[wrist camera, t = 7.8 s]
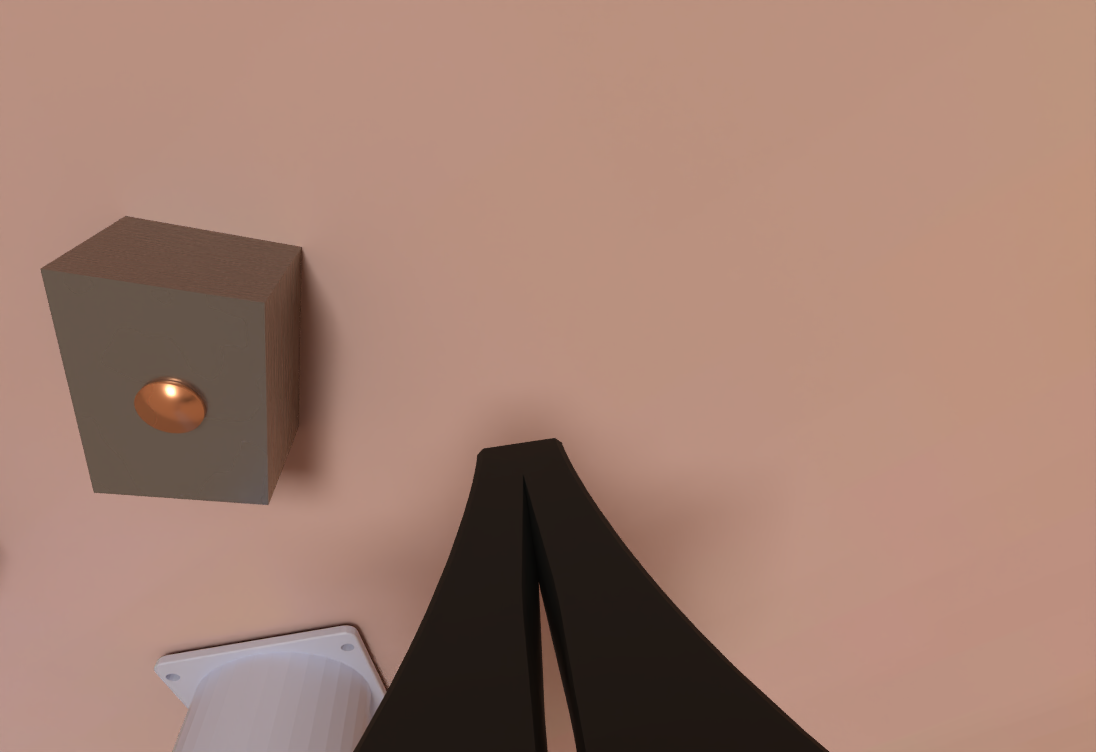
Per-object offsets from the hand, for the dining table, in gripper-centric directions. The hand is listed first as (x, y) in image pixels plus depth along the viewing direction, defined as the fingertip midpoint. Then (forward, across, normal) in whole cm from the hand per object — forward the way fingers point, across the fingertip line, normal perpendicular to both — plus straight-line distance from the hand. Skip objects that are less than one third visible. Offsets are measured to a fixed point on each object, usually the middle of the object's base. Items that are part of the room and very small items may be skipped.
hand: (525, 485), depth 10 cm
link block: (+8, +8, 0) cm, 11 cm away
